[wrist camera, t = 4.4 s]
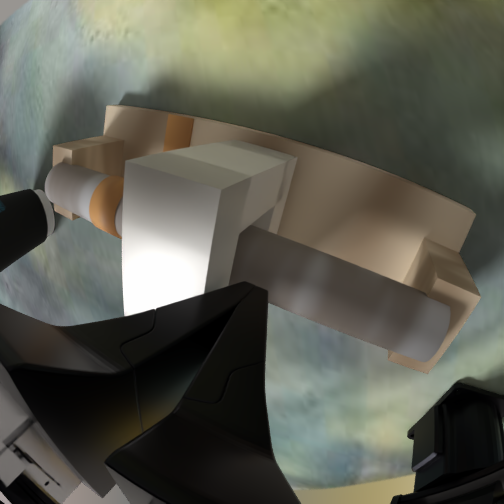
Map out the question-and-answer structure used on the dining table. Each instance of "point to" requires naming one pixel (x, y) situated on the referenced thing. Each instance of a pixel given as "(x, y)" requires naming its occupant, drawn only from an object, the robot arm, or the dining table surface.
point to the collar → (195, 217)
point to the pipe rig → (306, 232)
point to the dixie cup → (23, 223)
